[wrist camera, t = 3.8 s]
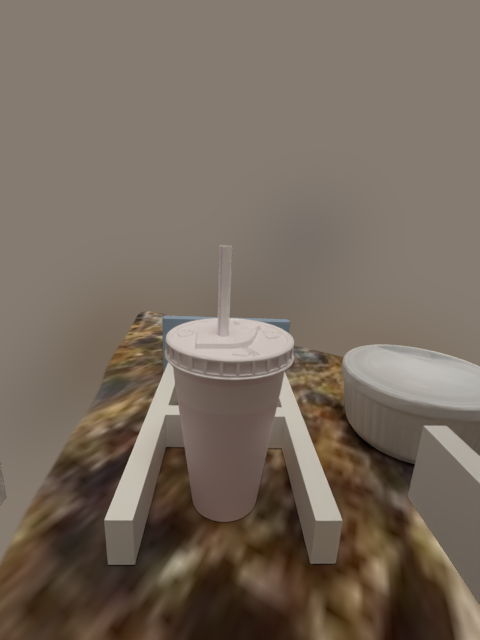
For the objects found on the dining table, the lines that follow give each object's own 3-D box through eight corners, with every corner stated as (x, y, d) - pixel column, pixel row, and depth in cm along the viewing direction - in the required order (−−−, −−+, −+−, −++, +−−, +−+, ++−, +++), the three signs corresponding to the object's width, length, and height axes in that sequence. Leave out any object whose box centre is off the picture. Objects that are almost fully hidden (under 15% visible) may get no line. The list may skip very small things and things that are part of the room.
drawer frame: (283, 375, 35) (288, 319, 34) (352, 563, 16) (371, 453, 14) (165, 372, 35) (164, 315, 33) (89, 565, 15) (77, 450, 14)
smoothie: (143, 498, 19) (132, 241, 15) (220, 445, 24) (226, 239, 20) (231, 572, 15) (246, 255, 12) (301, 491, 20) (328, 248, 16)
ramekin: (466, 408, 31) (480, 353, 29) (527, 502, 20) (553, 424, 19) (336, 387, 34) (343, 336, 32) (332, 459, 23) (342, 389, 22)
